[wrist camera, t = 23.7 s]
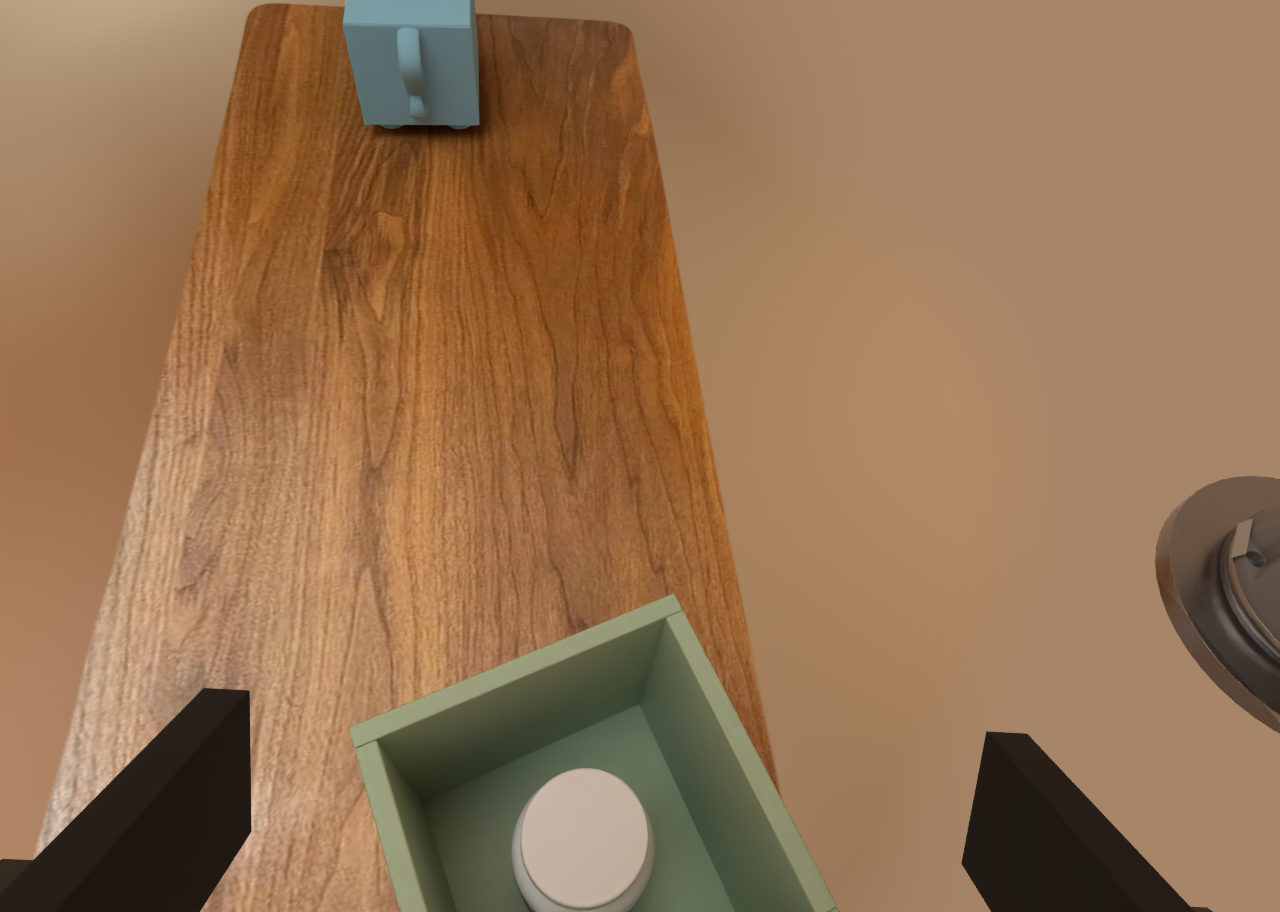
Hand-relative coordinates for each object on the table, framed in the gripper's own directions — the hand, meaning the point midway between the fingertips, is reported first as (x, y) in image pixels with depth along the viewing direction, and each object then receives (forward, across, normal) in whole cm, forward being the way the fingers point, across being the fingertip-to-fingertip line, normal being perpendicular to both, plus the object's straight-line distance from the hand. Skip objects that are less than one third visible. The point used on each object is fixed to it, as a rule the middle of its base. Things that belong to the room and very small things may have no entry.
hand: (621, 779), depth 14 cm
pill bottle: (+20, 0, -18) cm, 27 cm away
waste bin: (+28, 0, -26) cm, 38 cm away
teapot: (+81, -21, +27) cm, 88 cm away
